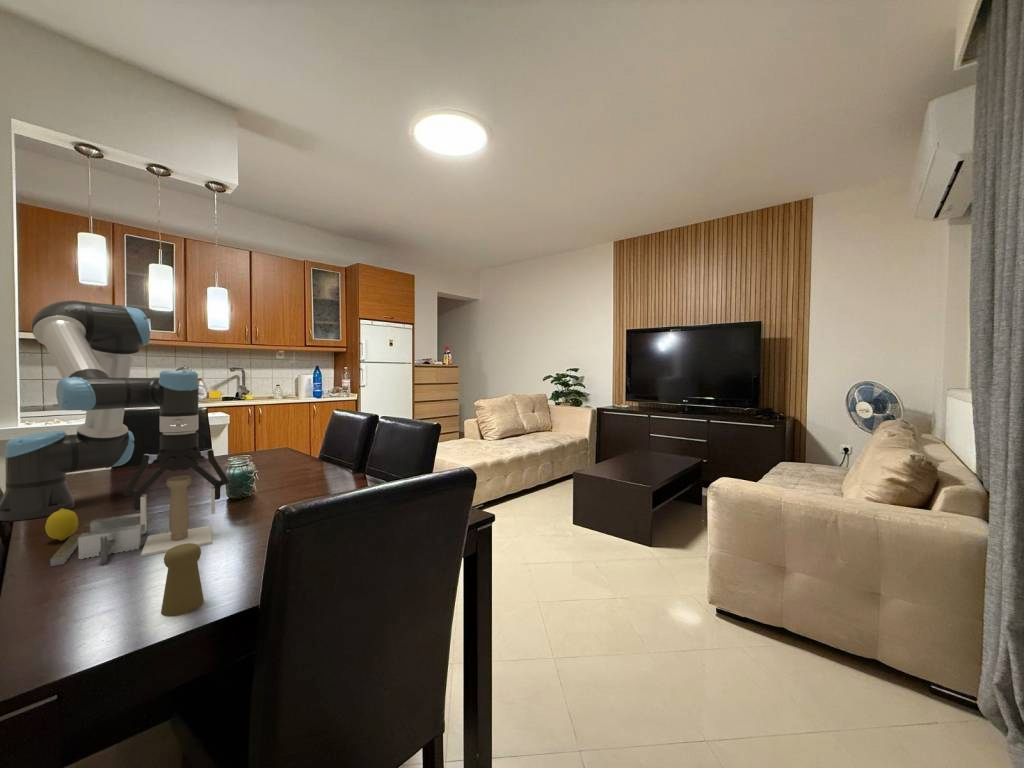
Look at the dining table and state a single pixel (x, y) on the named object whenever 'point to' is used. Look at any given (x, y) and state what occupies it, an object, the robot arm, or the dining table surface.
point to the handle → (179, 506)
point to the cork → (182, 580)
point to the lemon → (61, 524)
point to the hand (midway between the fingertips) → (179, 517)
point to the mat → (164, 541)
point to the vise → (104, 539)
